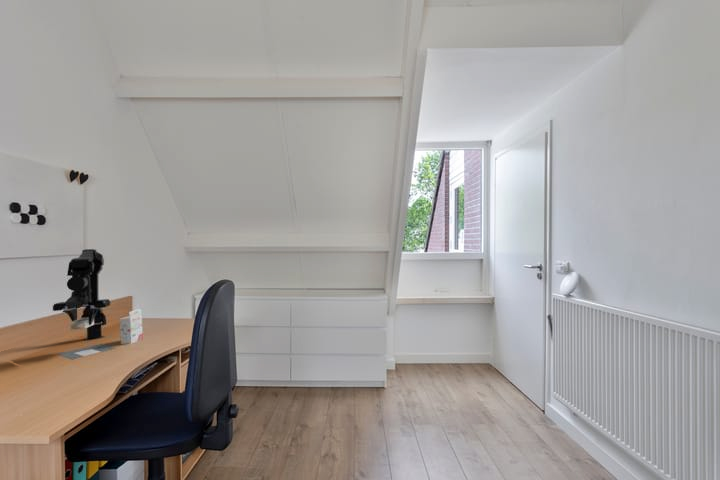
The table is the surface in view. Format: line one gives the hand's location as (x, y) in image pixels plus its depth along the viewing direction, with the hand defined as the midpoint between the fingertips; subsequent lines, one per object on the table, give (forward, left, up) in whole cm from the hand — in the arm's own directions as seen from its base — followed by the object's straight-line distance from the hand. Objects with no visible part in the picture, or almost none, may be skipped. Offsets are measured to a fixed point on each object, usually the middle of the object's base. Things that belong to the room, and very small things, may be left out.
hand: (82, 325), depth 151 cm
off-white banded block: (0, 0, -1) cm, 1 cm away
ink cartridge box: (+4, +17, -11) cm, 21 cm away
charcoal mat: (+2, 0, -11) cm, 11 cm away
